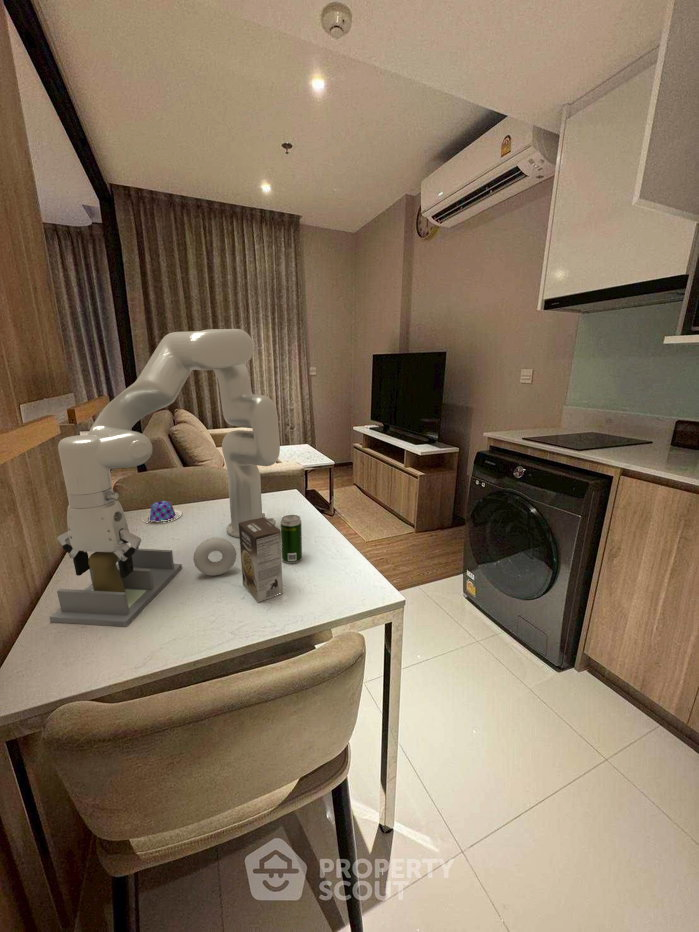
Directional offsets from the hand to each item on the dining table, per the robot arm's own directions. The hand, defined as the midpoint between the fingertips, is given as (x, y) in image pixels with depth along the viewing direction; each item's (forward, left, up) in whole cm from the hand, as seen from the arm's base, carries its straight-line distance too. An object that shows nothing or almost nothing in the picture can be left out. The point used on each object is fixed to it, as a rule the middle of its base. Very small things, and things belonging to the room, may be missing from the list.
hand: (105, 573), depth 79 cm
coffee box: (-31, -8, -8) cm, 33 cm away
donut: (-18, -13, -8) cm, 24 cm away
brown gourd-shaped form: (0, 0, -6) cm, 6 cm away
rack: (0, -4, -7) cm, 9 cm away
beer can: (-35, -22, -8) cm, 42 cm away
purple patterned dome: (+14, -46, -8) cm, 49 cm away
